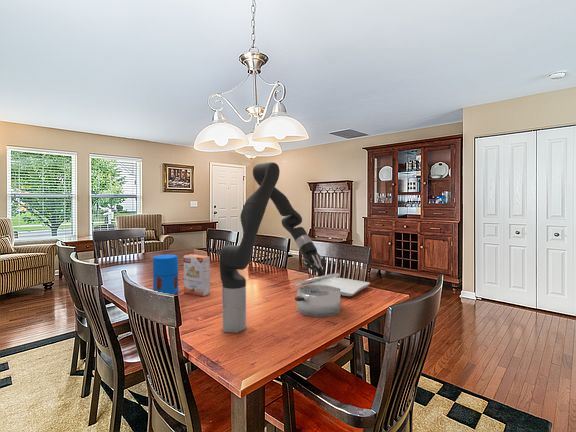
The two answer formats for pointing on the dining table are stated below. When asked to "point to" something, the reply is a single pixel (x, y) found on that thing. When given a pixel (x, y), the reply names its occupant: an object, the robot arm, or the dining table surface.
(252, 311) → the dining table surface
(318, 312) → the pot
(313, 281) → the lid
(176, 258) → the thermos
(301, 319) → the dining table surface
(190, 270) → the cracker box
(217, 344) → the dining table surface
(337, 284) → the square plate
